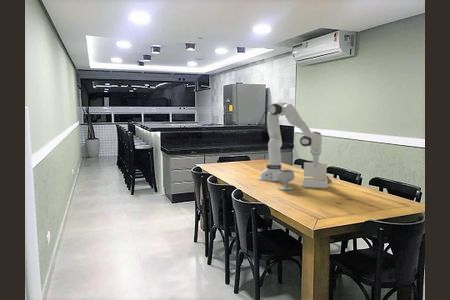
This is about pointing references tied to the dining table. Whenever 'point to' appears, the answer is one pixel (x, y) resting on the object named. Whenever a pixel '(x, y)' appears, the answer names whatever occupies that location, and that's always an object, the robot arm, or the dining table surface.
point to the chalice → (285, 178)
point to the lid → (315, 170)
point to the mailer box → (315, 182)
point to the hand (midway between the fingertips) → (315, 167)
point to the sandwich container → (323, 177)
